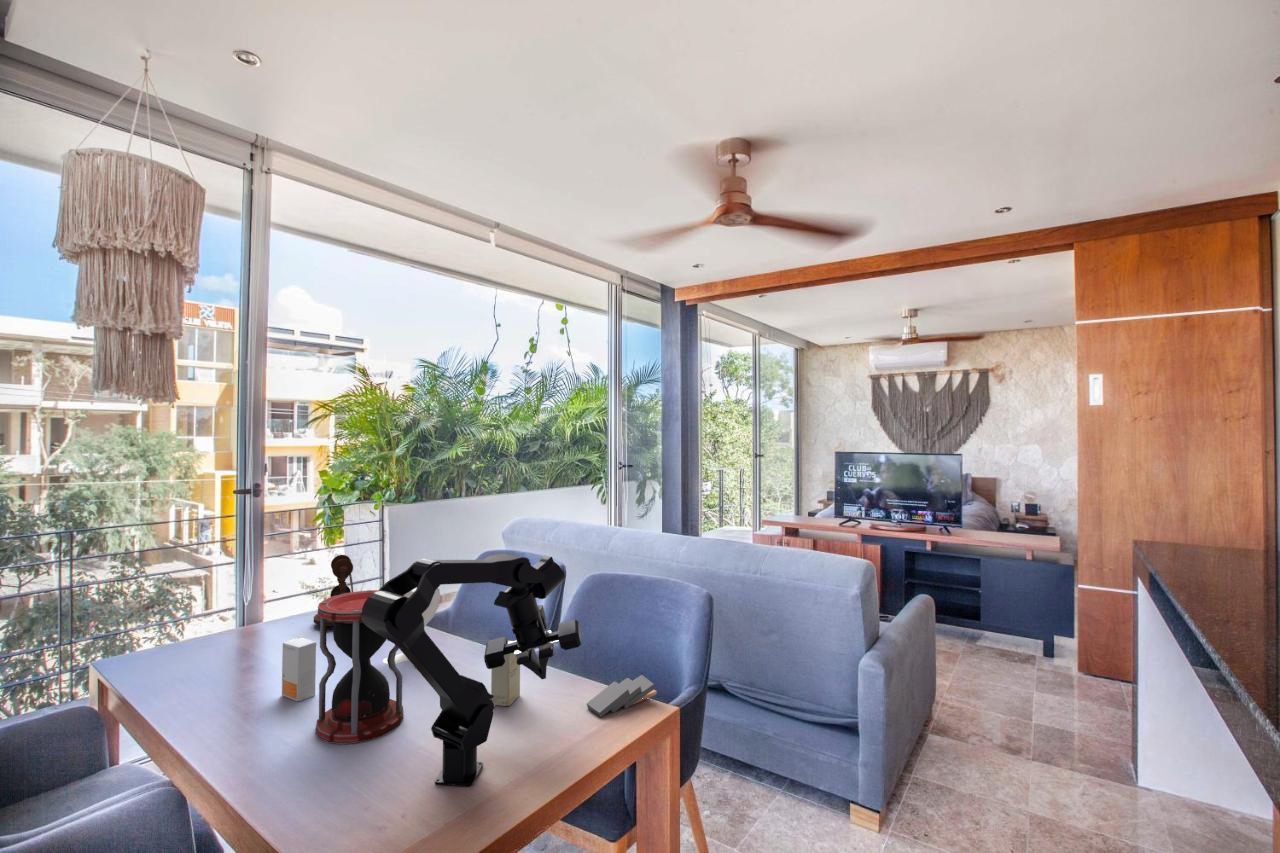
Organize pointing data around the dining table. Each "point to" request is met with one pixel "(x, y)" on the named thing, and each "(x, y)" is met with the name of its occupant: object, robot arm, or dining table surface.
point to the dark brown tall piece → (339, 580)
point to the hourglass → (356, 676)
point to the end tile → (647, 695)
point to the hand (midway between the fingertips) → (544, 677)
